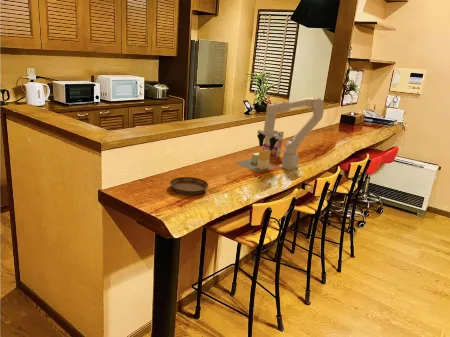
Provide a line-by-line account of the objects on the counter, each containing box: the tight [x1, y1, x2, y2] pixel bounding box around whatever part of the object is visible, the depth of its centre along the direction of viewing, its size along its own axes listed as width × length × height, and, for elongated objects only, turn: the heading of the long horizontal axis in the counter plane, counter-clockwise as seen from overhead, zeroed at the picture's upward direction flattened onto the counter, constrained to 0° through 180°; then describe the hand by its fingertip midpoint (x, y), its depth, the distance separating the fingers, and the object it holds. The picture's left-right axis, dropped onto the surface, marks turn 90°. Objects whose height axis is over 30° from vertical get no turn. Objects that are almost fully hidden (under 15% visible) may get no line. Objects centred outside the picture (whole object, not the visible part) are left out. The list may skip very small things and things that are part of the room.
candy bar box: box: [262, 129, 284, 158], centre depth 239 cm, size 11×5×16 cm, turn 47°
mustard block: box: [258, 149, 271, 161], centre depth 209 cm, size 6×4×5 cm, turn 138°
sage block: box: [251, 152, 259, 164], centre depth 220 cm, size 6×4×5 cm, turn 135°
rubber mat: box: [233, 159, 277, 173], centre depth 215 cm, size 18×18×1 cm
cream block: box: [257, 159, 270, 169], centre depth 211 cm, size 6×4×5 cm, turn 135°
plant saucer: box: [169, 176, 209, 196], centre depth 170 cm, size 18×18×3 cm
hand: (266, 148), depth 217 cm, fingers open, 7 cm apart
